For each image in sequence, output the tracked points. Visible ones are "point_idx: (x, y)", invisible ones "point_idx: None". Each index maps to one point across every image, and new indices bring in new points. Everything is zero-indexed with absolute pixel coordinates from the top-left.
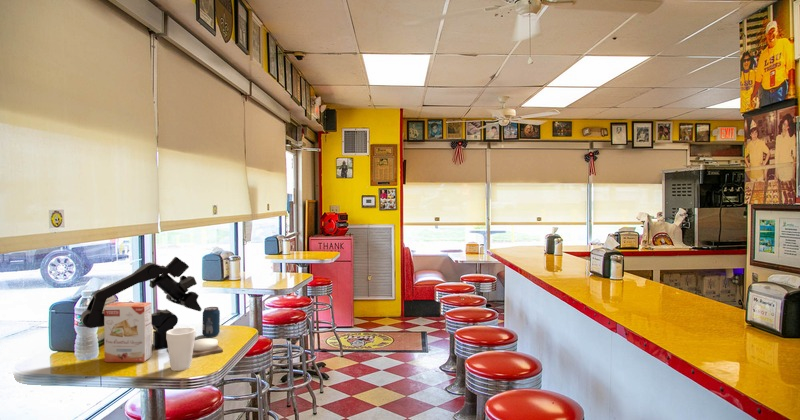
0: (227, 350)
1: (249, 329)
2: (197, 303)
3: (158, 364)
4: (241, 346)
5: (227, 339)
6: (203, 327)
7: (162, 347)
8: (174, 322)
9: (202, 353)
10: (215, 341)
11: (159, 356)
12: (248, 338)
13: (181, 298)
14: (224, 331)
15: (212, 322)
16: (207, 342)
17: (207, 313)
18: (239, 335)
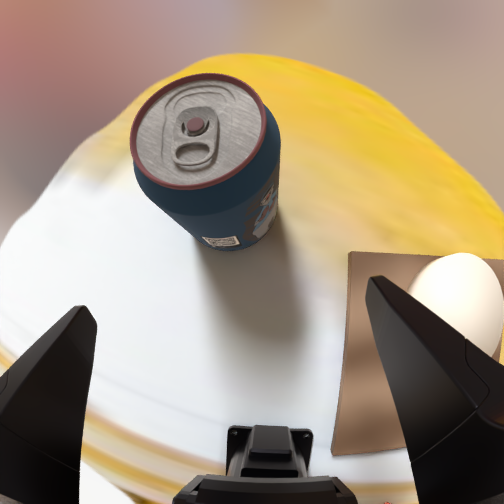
0: (491, 239)
1: (253, 56)
2: (482, 361)
3: None
4: (471, 176)
5: (357, 171)
6: (231, 242)
7: (307, 469)
8: (351, 498)
9: (500, 341)
10: (480, 268)
11: (396, 479)
12: (387, 106)
13: (23, 464)
14: None
15: (278, 184)
16: (475, 306)
17: (252, 188)
18: (322, 109)
